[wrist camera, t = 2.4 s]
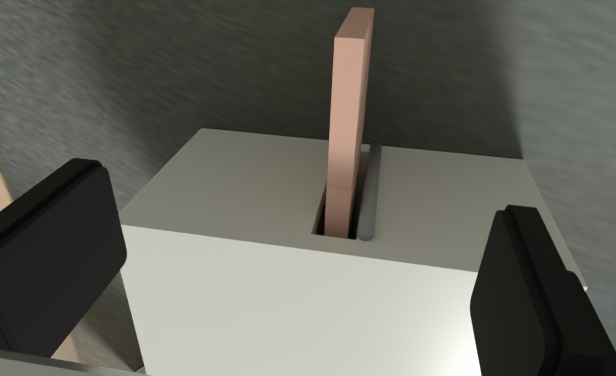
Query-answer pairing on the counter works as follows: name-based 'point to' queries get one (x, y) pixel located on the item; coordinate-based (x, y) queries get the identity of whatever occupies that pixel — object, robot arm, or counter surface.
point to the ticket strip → (347, 120)
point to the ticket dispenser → (313, 259)
